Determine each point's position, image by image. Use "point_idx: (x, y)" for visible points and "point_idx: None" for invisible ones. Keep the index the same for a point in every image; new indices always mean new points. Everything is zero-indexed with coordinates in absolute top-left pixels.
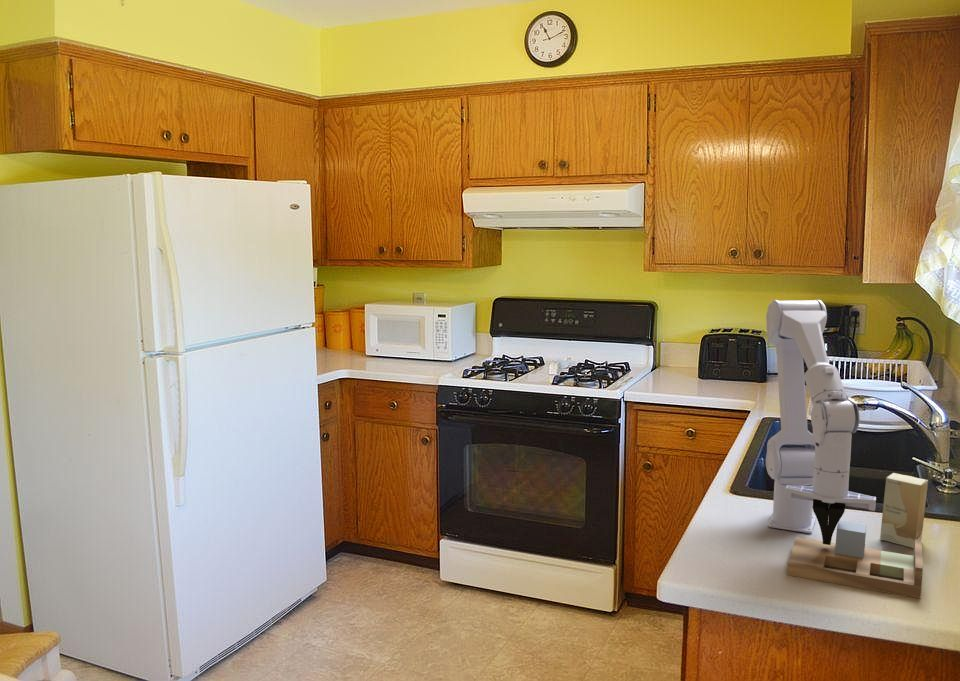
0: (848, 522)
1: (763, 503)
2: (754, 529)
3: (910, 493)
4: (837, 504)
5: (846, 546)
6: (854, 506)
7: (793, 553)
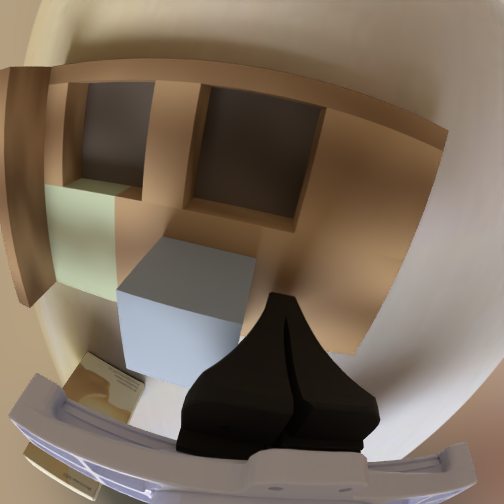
0: (187, 383)
1: None
2: (402, 393)
3: None
4: (223, 449)
5: (210, 267)
6: (129, 426)
7: (408, 229)
